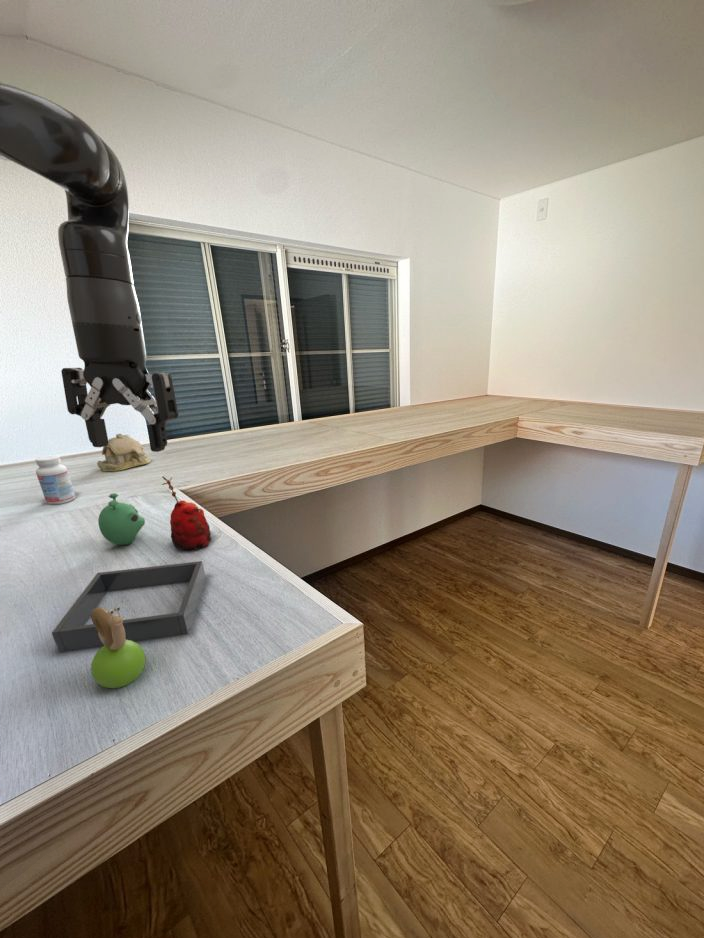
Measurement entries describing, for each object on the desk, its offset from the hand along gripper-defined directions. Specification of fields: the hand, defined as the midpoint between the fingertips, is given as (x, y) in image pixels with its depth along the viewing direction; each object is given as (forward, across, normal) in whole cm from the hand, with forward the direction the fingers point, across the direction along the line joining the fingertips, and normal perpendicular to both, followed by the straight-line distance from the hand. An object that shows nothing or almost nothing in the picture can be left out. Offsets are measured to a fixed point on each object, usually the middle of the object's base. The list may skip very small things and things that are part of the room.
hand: (129, 448), depth 58 cm
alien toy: (+24, -16, +16) cm, 33 cm away
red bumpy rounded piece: (+23, -3, +17) cm, 29 cm away
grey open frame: (+24, +1, -5) cm, 25 cm away
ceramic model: (+23, -52, +66) cm, 87 cm away
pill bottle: (+24, -49, +36) cm, 65 cm away
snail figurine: (+25, +8, -17) cm, 31 cm away
